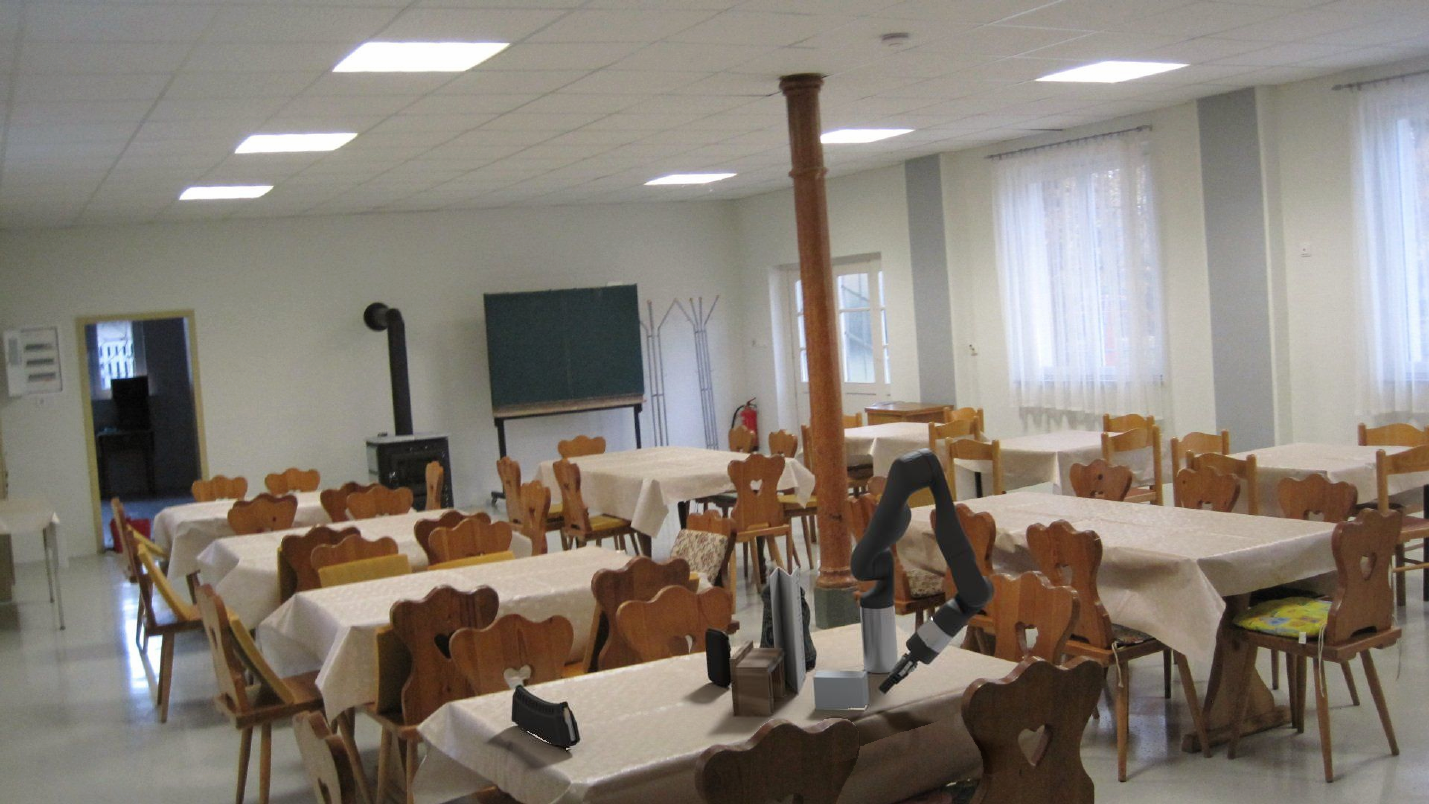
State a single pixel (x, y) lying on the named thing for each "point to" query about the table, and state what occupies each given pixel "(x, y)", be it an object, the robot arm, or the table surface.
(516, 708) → the magazine
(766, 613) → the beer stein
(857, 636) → the table surface
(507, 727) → the table surface
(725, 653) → the carrying case or bag
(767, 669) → the cubby
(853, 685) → the grey block
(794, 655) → the brochure
